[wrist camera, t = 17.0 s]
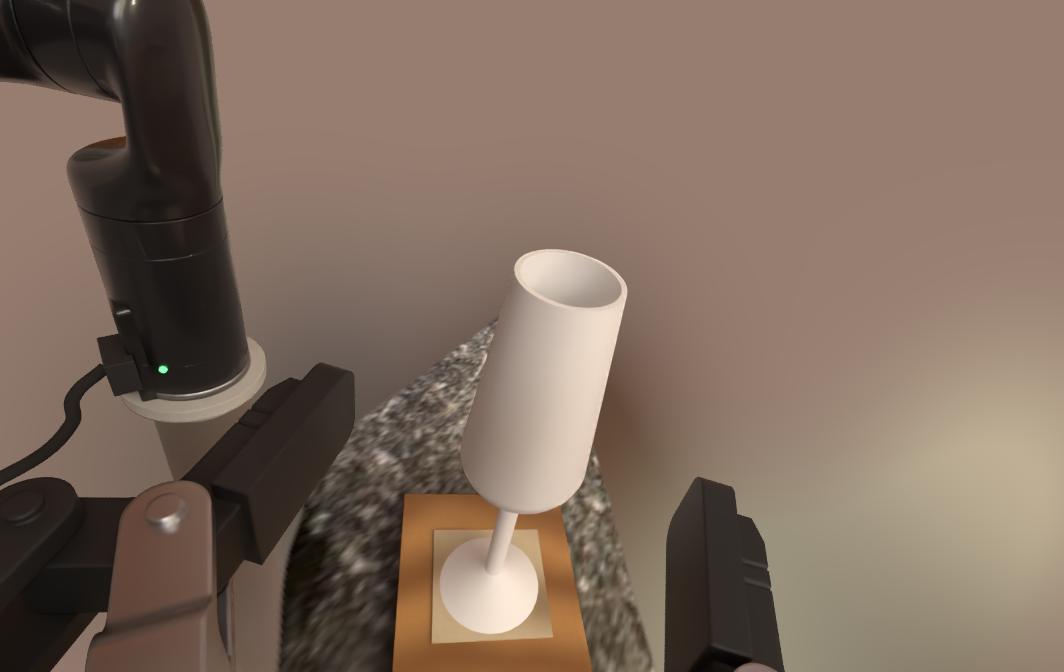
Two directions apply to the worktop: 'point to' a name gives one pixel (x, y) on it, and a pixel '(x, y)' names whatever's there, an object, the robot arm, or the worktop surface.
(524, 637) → the wooden coaster block
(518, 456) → the champagne flute
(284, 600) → the worktop surface
